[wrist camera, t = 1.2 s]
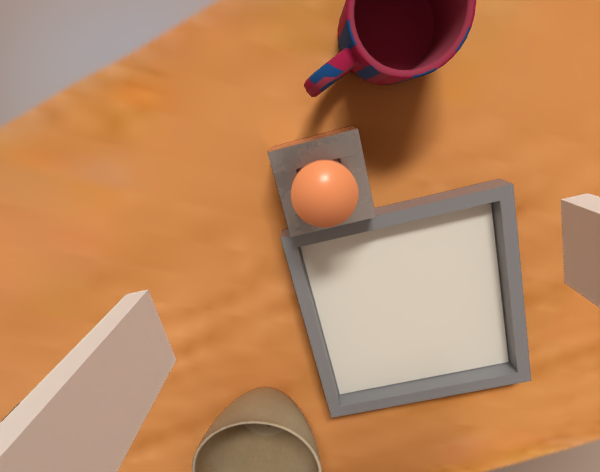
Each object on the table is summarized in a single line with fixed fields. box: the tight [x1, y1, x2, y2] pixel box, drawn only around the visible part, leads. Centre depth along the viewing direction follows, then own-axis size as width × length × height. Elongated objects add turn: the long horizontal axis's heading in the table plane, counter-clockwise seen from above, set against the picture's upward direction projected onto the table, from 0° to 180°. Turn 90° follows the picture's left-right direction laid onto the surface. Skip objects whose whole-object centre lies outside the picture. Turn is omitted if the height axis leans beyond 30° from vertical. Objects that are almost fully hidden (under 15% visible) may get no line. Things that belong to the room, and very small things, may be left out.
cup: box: [304, 0, 476, 97], centre depth 24 cm, size 7×10×7 cm
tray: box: [281, 179, 531, 418], centre depth 32 cm, size 17×17×2 cm
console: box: [268, 126, 376, 237], centre depth 28 cm, size 6×6×4 cm
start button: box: [291, 159, 358, 228], centre depth 25 cm, size 4×4×3 cm
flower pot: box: [192, 387, 322, 472], centre depth 34 cm, size 10×10×7 cm
